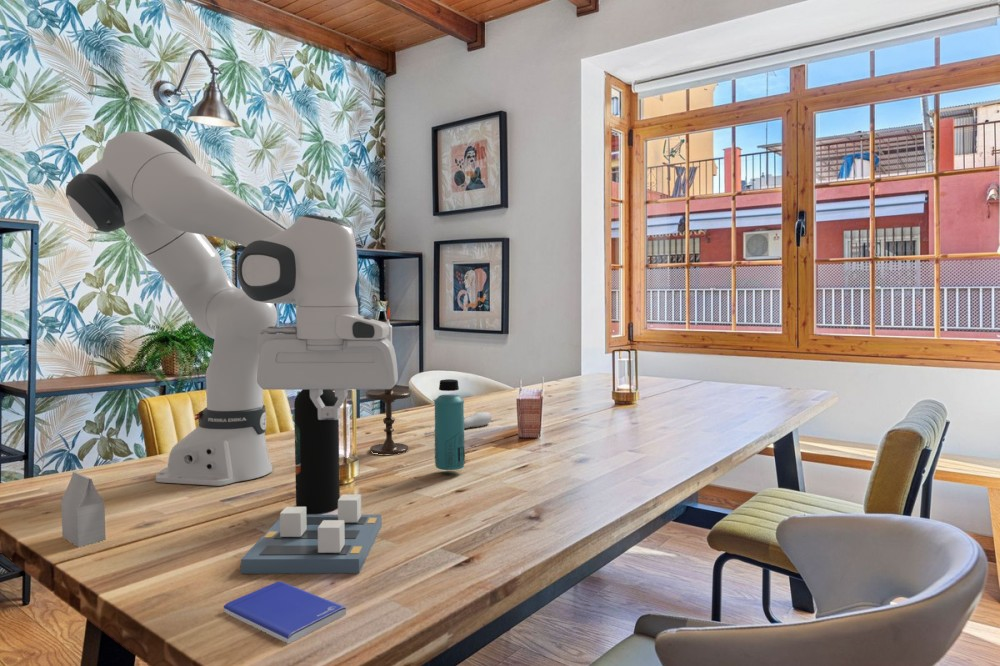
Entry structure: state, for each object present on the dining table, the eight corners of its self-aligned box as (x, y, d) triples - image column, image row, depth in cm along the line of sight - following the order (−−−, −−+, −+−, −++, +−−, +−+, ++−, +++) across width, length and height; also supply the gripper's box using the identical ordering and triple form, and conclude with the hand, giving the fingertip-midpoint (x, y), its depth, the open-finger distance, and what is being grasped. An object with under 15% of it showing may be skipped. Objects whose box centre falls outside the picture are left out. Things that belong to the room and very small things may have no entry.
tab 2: (318, 552, 90) (317, 527, 90) (323, 544, 93) (323, 520, 93) (339, 552, 90) (339, 527, 90) (344, 544, 93) (344, 520, 93)
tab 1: (280, 536, 96) (279, 513, 96) (286, 529, 99) (286, 506, 99) (300, 536, 96) (300, 513, 96) (306, 529, 99) (306, 506, 99)
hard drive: (346, 605, 78) (281, 579, 85) (288, 634, 71) (223, 603, 78) (346, 618, 78) (281, 591, 85) (288, 648, 71) (223, 616, 78)
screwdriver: (419, 442, 176) (416, 427, 176) (485, 424, 194) (482, 410, 194) (430, 441, 173) (427, 425, 173) (496, 423, 191) (493, 408, 191)
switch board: (241, 573, 89) (240, 558, 89) (283, 526, 107) (283, 514, 107) (359, 573, 89) (358, 558, 89) (381, 526, 107) (381, 513, 107)
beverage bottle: (460, 478, 135) (460, 382, 134) (430, 476, 137) (429, 381, 135) (468, 470, 142) (468, 378, 140) (439, 468, 143) (438, 377, 142)
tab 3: (338, 522, 102) (337, 500, 102) (342, 515, 105) (342, 494, 105) (357, 522, 102) (357, 500, 102) (361, 515, 105) (360, 494, 105)
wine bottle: (316, 516, 112) (313, 341, 110) (286, 509, 116) (283, 339, 114) (348, 504, 118) (346, 338, 116) (319, 497, 122) (316, 337, 120)
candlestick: (384, 444, 166) (382, 306, 164) (420, 448, 161) (419, 306, 159) (357, 453, 156) (355, 306, 154) (394, 458, 152) (393, 307, 150)
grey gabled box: (78, 547, 98) (76, 482, 98) (62, 537, 102) (60, 474, 102) (105, 540, 101) (103, 476, 100) (88, 530, 105) (86, 469, 105)
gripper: (248, 327, 93) (251, 423, 94) (392, 327, 93) (393, 423, 94) (264, 325, 99) (266, 415, 100) (399, 325, 100) (400, 415, 101)
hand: (329, 419), depth 97 cm, fingers closed
